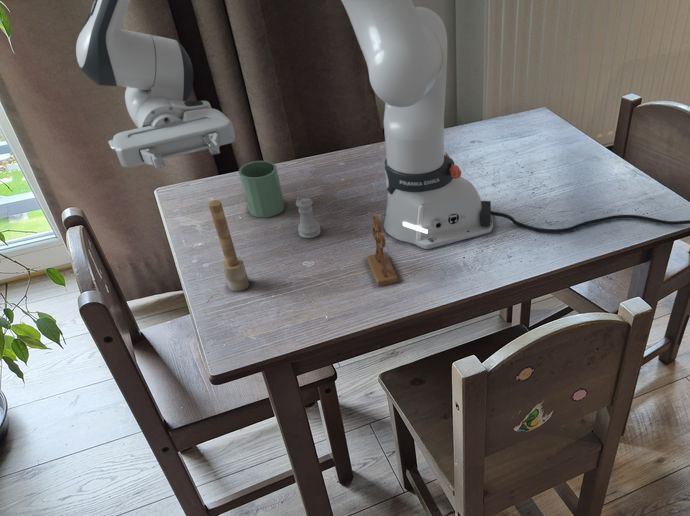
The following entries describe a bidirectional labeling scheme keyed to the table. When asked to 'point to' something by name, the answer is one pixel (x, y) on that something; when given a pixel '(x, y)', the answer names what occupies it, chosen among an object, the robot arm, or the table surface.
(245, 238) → the table surface
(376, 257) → the wooden figure on stand
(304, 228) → the rook chess piece
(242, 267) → the bottle brush
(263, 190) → the green pen holder
